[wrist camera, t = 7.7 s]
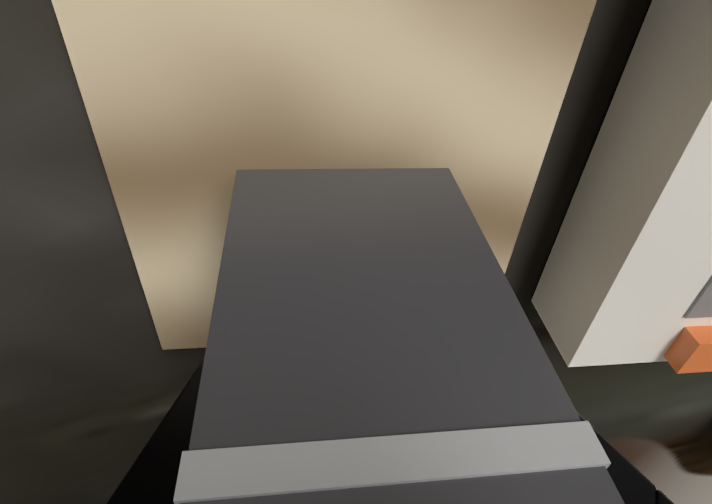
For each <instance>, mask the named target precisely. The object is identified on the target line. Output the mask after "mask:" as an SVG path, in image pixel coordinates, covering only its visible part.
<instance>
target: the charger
mask: <svg viewBox="0 0 712 504" xmlns="http://www.w3.org/2000/svg"><path fill="white" fill-rule="evenodd" d="M610 464H611V462H610V460H609V458H608V457H607V455H606V453H605V451H604V449H603V447H602V445H601V443H600V442H599V440H598V438H597V436H596V434H595V432H594V430H593V429H592V427H591V425H590V423H589V421H581V419H580V417H579V415H578V414H577V412H576V410H575V408H574V406H573V404H572V402H571V400H570V398H569V396H568V394H567V393H566V391H565V389H564V387H563V385H562V383H561V381H560V379H559V377H558V375H557V373H556V372H555V370H554V368H553V366H552V364H551V362H550V360H549V358H548V356H547V354H546V352H545V351H544V349H543V347H542V345H541V343H540V341H539V339H538V337H537V335H536V333H535V331H534V330H533V328H532V326H531V324H530V322H529V320H528V318H527V316H526V314H525V312H524V310H523V309H522V307H521V305H520V303H519V301H518V299H517V297H516V295H515V293H514V291H513V289H512V288H511V286H510V284H509V282H508V280H507V278H506V276H505V274H504V272H503V270H502V268H501V267H500V265H499V263H498V261H497V259H496V257H495V255H494V253H493V251H492V249H491V247H490V246H489V244H488V242H487V240H486V238H485V236H484V234H483V232H482V230H481V228H480V226H479V225H478V223H477V221H476V219H475V217H474V215H473V213H472V211H471V209H470V207H469V205H468V204H467V202H466V200H465V198H464V196H463V194H462V192H461V190H460V188H459V186H458V184H457V183H456V181H455V179H454V177H453V175H452V173H451V171H450V169H449V168H381V169H247V170H236V175H235V181H234V187H233V193H232V199H231V205H230V210H229V216H228V222H227V228H226V234H225V240H224V246H223V251H222V257H221V263H220V269H219V275H218V281H217V287H216V292H215V298H214V304H213V310H212V316H211V322H210V328H209V333H208V339H207V345H206V351H205V357H204V363H203V369H202V374H201V380H200V386H199V392H198V398H197V404H196V410H195V415H194V421H193V427H192V433H191V439H190V445H189V451H182V455H181V461H180V466H179V472H178V477H177V483H176V488H175V494H174V499H173V502H174V504H625V503H624V501H623V499H622V498H621V496H620V494H619V492H618V490H617V488H616V486H615V484H614V482H613V480H612V478H611V477H610V475H609V473H608V471H607V468H608V467H609V465H610Z"/></svg>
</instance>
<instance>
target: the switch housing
mask: <svg viewBox="0 0 712 504" xmlns="http://www.w3.org/2000/svg"><path fill="white" fill-rule="evenodd" d="M531 301H532V303H533V305H534V307H535V309H536V310H537V312H538V314H539V316H540V318H541V319H542V321H543V323H544V325H545V327H546V328H547V330H548V332H549V334H550V336H551V337H552V339H553V341H554V343H555V345H556V346H557V348H558V350H559V352H560V354H561V356H562V357H563V359H564V361H565V363H566V365H567V366H568V367H579V366H596V365H612V364H628V363H644V362H661V361H668V362H669V364H670V365H671V366H672V368H673V369H674V370H675V372H676V373H677V374H679V373H694V372H709V371H712V0H652V2H651V4H650V7H649V9H648V12H647V14H646V17H645V19H644V22H643V24H642V27H641V29H640V32H639V34H638V37H637V39H636V42H635V44H634V47H633V49H632V52H631V54H630V57H629V59H628V62H627V64H626V67H625V69H624V72H623V74H622V77H621V79H620V81H619V84H618V86H617V89H616V91H615V94H614V96H613V99H612V101H611V104H610V106H609V109H608V111H607V114H606V116H605V119H604V121H603V124H602V126H601V129H600V131H599V134H598V136H597V139H596V141H595V144H594V146H593V149H592V151H591V153H590V156H589V158H588V161H587V163H586V166H585V168H584V171H583V173H582V176H581V178H580V181H579V183H578V186H577V188H576V191H575V193H574V196H573V198H572V201H571V203H570V206H569V208H568V211H567V213H566V216H565V218H564V221H563V223H562V225H561V228H560V230H559V233H558V235H557V238H556V240H555V243H554V245H553V248H552V250H551V253H550V255H549V258H548V260H547V263H546V265H545V268H544V270H543V273H542V275H541V278H540V280H539V283H538V285H537V288H536V290H535V293H534V295H533V298H532V300H531Z"/></svg>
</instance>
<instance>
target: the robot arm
mask: <svg viewBox="0 0 712 504" xmlns="http://www.w3.org/2000/svg"><path fill="white" fill-rule="evenodd" d="M203 363H204V359H203V361H202V362H201V364H200V365H199V367H198V368H197V370H196V371H195V372H194V374H193V375H192V377H191V378H190V380H189V381H188V383H187V384H186V386H185V387H184V389H183V390H182V392H181V393H180V395H179V396H178V398H177V399H176V401H175V402H174V404H173V405H172V407H171V408H170V410H169V411H168V413H167V414H166V416H165V417H164V419H163V420H162V422H161V423H160V425H159V426H158V428H157V429H156V431H155V432H154V434H153V435H152V437H151V438H150V440H149V441H148V443H147V444H146V446H145V447H144V449H143V450H142V452H141V453H140V454H139V456H138V457H137V459H136V460H135V462H134V463H133V465H132V466H131V468H130V469H129V471H128V472H127V474H126V475H125V477H124V478H123V480H122V481H121V483H120V484H119V486H118V487H117V489H116V490H115V492H114V493H113V495H112V496H111V498H110V499H109V501H108V502H107V504H174V502H173V499H174V494H175V488H176V483H177V477H178V472H179V466H180V461H181V455H182V451H189V445H190V439H191V433H192V427H193V421H194V415H195V410H196V404H197V398H198V392H199V386H200V380H201V374H202V369H203ZM577 414H578V413H577ZM578 415H579V417H580V419H581V421H586V420H585V419H584V418H583V417H582V416H581V415H580V414H578ZM591 427H592V426H591ZM592 429H593V430H594V432H595V434H596V436H597V438H598V440H599V442H600V443H601V445H602V447H603V449H604V451H605V453H606V455H607V457H608V458H609V460H610V462H611V464H610V465H609V467H608V468H607V471H608V473H609V475H610V477H611V478H612V480H613V482H614V484H615V486H616V488H617V490H618V492H619V494H620V496H621V498H622V499H623V501H624V503H625V504H674V503H673V502H672V501H671V500H670V499H668V498H667V497H666V496H665V495H664V494H663V493H662V492H661V491H659V490H656V488H655V486H654V485H653V484H652V483H651V482H650V481H649V480H648V479H647V478H646V477H645V476H644V475H643V474H642V473H641V472H640V471H639V470H638V469H636V468H635V467H634V466H633V465H632V464H631V463H630V462H629V461H628V460H627V459H626V458H625V457H624V456H623V455H622V454H621V453H620V452H619V451H618V450H616V449H615V448H614V447H613V446H612V445H611V444H610V443H609V442H608V441H607V440H606V439H605V438H604V437H603V436H602V435H601V434H600V433H599V432H597V431H596V430H595V429H594V428H593V427H592Z"/></svg>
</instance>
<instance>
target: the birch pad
mask: <svg viewBox="0 0 712 504" xmlns="http://www.w3.org/2000/svg"><path fill="white" fill-rule="evenodd" d="M596 1H597V0H52V4H53V7H54V10H55V13H56V16H57V19H58V22H59V26H60V29H61V32H62V35H63V38H64V41H65V44H66V48H67V51H68V54H69V57H70V60H71V63H72V67H73V70H74V73H75V76H76V79H77V82H78V85H79V89H80V92H81V95H82V98H83V101H84V104H85V107H86V111H87V114H88V117H89V120H90V123H91V126H92V129H93V133H94V136H95V139H96V142H97V145H98V148H99V151H100V155H101V158H102V161H103V164H104V167H105V170H106V174H107V177H108V180H109V183H110V186H111V189H112V192H113V196H114V199H115V202H116V205H117V208H118V211H119V214H120V218H121V221H122V224H123V227H124V230H125V233H126V236H127V240H128V243H129V246H130V249H131V252H132V255H133V259H134V262H135V265H136V268H137V271H138V274H139V277H140V281H141V284H142V287H143V290H144V293H145V296H146V299H147V303H148V306H149V309H150V312H151V315H152V318H153V321H154V325H155V328H156V331H157V334H158V337H159V340H160V343H161V347H162V350H167V349H186V348H206V345H207V339H208V333H209V328H210V322H211V316H212V310H213V304H214V298H215V292H216V287H217V281H218V275H219V269H220V263H221V257H222V251H223V246H224V240H225V234H226V228H227V222H228V216H229V210H230V205H231V199H232V193H233V187H234V181H235V175H236V170H247V169H381V168H449V169H450V171H451V173H452V175H453V177H454V179H455V181H456V183H457V184H458V186H459V188H460V190H461V192H462V194H463V196H464V198H465V200H466V202H467V204H468V205H469V207H470V209H471V211H472V213H473V215H474V217H475V219H476V221H477V223H478V225H479V226H480V228H481V230H482V232H483V234H484V236H485V238H486V240H487V242H488V244H489V246H490V247H491V249H492V251H493V253H494V255H495V257H496V259H497V261H498V263H499V265H500V267H501V268H502V270H503V272H504V274H505V272H506V269H507V266H508V263H509V260H510V257H511V254H512V251H513V248H514V245H515V242H516V239H517V236H518V233H519V230H520V227H521V224H522V221H523V218H524V215H525V212H526V209H527V206H528V203H529V200H530V197H531V194H532V191H533V188H534V185H535V182H536V179H537V176H538V174H539V171H540V168H541V165H542V162H543V159H544V156H545V153H546V150H547V147H548V144H549V141H550V138H551V135H552V132H553V129H554V126H555V123H556V120H557V117H558V114H559V111H560V108H561V105H562V102H563V99H564V96H565V93H566V90H567V87H568V84H569V81H570V78H571V75H572V72H573V69H574V66H575V63H576V60H577V58H578V55H579V52H580V49H581V46H582V43H583V40H584V37H585V34H586V31H587V28H588V25H589V22H590V19H591V16H592V13H593V10H594V7H595V4H596Z"/></svg>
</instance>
